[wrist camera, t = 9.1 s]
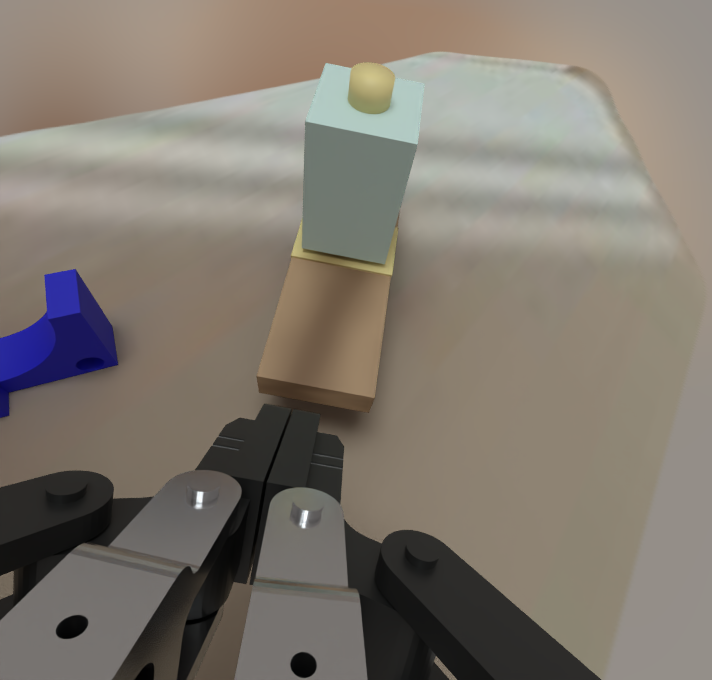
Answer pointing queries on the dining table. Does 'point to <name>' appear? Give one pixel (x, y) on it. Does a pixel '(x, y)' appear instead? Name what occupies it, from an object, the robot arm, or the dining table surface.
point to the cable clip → (57, 340)
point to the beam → (328, 329)
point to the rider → (358, 159)
